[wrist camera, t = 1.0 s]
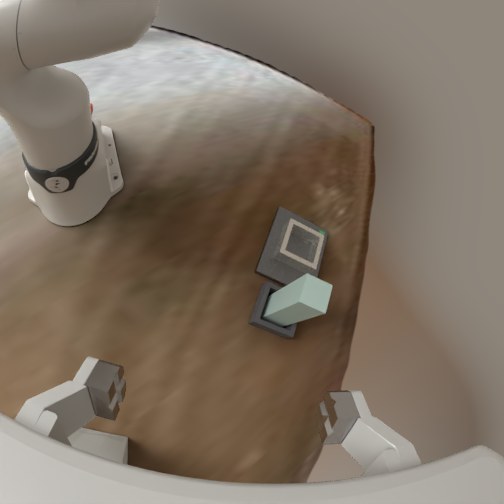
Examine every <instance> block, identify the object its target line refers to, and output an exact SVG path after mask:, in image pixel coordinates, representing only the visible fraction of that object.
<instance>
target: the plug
mask: <svg viewBox="0 0 504 504" xmlns="http://www.w3.org/2000/svg"><path fill="white" fill-rule="evenodd" d="M332 286H333V285H331V284H329V283H327V282H324V281H322V280H320V279H318V278H316V277H314V276H312V275H310V274H308V273H307V274H305V275H303V276H302V277H300V278H298V279H297V280H295V281H293V282H292V283H290V284H288V285H287V286H285V287H283V288H281V289H280V290H278V291H276V292H275V293H273V294H271V295H269V296H268V297H267V300H266V303H265V306H264V309H263V312H262V314H261V317H260V318H261V319H263V320H265V321H268V322H270V323H273V324H275V325H278V326H280V327H283V326H287V325H290V324H293V323H297V322H300V321H303V320H306V319H310V318H313V317H316V316H319V315H322V314H325V313H326V310H327V306H328V302H329V298H330V294H331V290H332Z"/></svg>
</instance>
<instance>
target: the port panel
mask: <svg viewBox="0 0 504 504" xmlns="http://www.w3.org/2000/svg"><path fill="white" fill-rule="evenodd" d="M327 235H328V231H326V230H324V229H323V228H321V227H319V226H317V225H315V224H313V223H311V222H309V221H307V220H306V219H304V218H302V217H300V216H298V215H296V214H294V213H292V212H290V211H288V210H286V209H284V208H282V207H280V206H279V208H278V209H277V212H276V214H275V217H274V220H273V223H272V226H271V228H270V231H269V234H268V237H267V239H266V242H265V245H264V248H263V250H262V253H261V256H260V259H259V261H258V264H257V267H256V270H255V273H257V274H259V275H261V276H263V277H266V278H268V279H270V280H272V281H274V282H277V283H279V284H281V285H283V286H287V285H288V284H290V283H292V282H293V281H295V280H297V279H298V278H300V277H302V276H303V275H305V274H307V273H308V274H310V275H312V276H314V277H316V278H317V276H318V272H319V268H320V264H321V260H322V256H323V252H324V248H325V244H326V240H327Z"/></svg>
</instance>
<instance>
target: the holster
mask: <svg viewBox="0 0 504 504" xmlns="http://www.w3.org/2000/svg"><path fill="white" fill-rule="evenodd" d="M281 288H282V287H280V286H278V285H275V284H273V283H271V282H269V281H267V282H265V283H264V284H263V285H262V287H261V290H260V293H259V296H258V298H257V301H256V304H255V307H254V310H253V313H252V315H251V318H250V321H249V324H251V325H254V326H256V327H259V328H261V329H264V330H266V331H269V332H271V333H274V334H276V335H279V336H281V337H284V338H286V339H287V338H292V337H294V333H295V330H296V327H297V323H298V322H297V323H293V324H290V325H287V326H286V328H285V329H284V328H282V327H279V326H277V325H274V324H272V323H269V322H267V321H264V320H262V319H260V317H261V314H262V311H263V308H264V305H265V302H266V299H267V296H268V293H271V294H273V293H275V292H276V291H278V290H280V289H281Z"/></svg>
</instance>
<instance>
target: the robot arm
mask: <svg viewBox="0 0 504 504" xmlns="http://www.w3.org/2000/svg"><path fill="white" fill-rule="evenodd" d="M158 6H159V0H0V115H1V116H2V117H3V118H4V120H5V121H6V122H7V123H8V125H9V126H10V128H11V130H12V132H13V133H14V135H15V137H16V139H17V141H18V143H19V145H20V148H21V150H22V157H23V160H24V165H25V167H26V171H25V177H26V180H27V182H28V185H29V188H30V189H29V193H28V197H29V200H30V201H31V202H32V203H34V204H35V205H37V206H38V207H39V208H40V209H41V211H42V213H43V214H44V216H45V217H46V218H47V219H48V220H49V221H51V222H53V223H55V224H57V225H61V226H74V225H79V224H82V223H84V222H86V221H88V220H90V219H92V218H93V217H94V216H96V215H97V214H98V213H99V212H100V211H101V210H102V209H103V207H104V206H105V205H106V203H107V202H108V200H109V199H110V198H111V197H112V196H113V195H115V194H116V193H117V192H119V191H120V190H121V189H122V188H123V186H124V183H123V179H122V174H121V170H120V166H119V161H118V157H117V152H116V148H115V143H114V138H113V133H112V130H111V128H109V127H106V126H102V125H101V121H100V120H98V119H96V118H93V117H92V116H91V115H92V112H93V106H92V103H91V104H90V97H89V91H88V89H87V87H86V85H85V83H84V82H83V81H82V79H81V78H80V77H79V76H77V75H76V74H74V73H72V72H70V71H68V70H65V69H61V68H58V67H56V66H54V65H55V64H60V63H66V62H72V61H78V60H85V59H91V58H94V57H98V56H102V55H105V54H109V53H112V52H116V51H119V50H123V49H127V48H131V47H133V46H134V45H135V44H136V43H137V42H138V41H139V40H140V39H141V38H142V37H143V36H144V35H145V34H146V32H147V31H148V30H149V28H150V27H151V25H152V23H153V21H154V19H155V17H156V14H157V10H158ZM114 178H118V179H116V180H114ZM123 375H124V368H123V366H121V365H117V364H114V363H110V362H107V361H103V360H99V359H96V358H93V357H90V356H89V357H88V358H86V360H85V361H84V363H83V365H82V366H81V368H80V370H79V371H78V373H77V374H76V376H75V378H74V379H73V381H67V382H65V383H63V384H61V385H59V386H57V387H54V388H52V389H50V390H48V391H46V392H44V393H41V394H39V395H37V396H35V397H33V398H30V399H28V400H27V401H26V402H25V404H24V405H23V407H22V408H21V410H20V412H19V413H18V415H17V416H16V418H15V420H13V419H12V418H10V417H8V416H6V415H4V414H3V413H1V412H0V504H504V458H503V457H502V456H501V455H499V454H498V453H496V452H494V451H493V450H491V449H489V448H488V447H485V446H483V445H477V446H474V447H472V448H469V449H466V450H463V451H461V452H458V453H455V454H452V455H449V456H447V457H444V458H440V459H437V460H434V461H431V462H428V463H424V464H421V462H420V459H419V457H418V455H417V453H416V451H415V448H414V446H413V444H411V443H410V442H409V441H408V440H406V439H405V438H403V437H402V436H400V435H399V434H398V433H396V432H395V431H394V430H392V429H391V428H390V427H388V426H387V425H385V424H384V423H383V422H381V421H380V420H379V419H377V418H376V417H372V415H371V413H370V411H369V408H368V406H367V403H366V401H365V399H364V396H363V394H362V392H361V391H360V390H351V391H326V392H325V393H324V395H323V400H324V401H323V402H322V403H320V404H319V406H318V408H317V413H316V420H317V424H318V425H319V426H320V427H321V428H322V429H321V431H320V432H319V433H320V437H321V441H322V444H341V445H342V446H343V448H344V449H345V450H346V451H347V452H348V453H349V454H350V455H351V456H352V457H353V458H354V459H355V460H356V461H357V462H358V463H359V464H360V465H361V466H362V467H363V468H364V469H365V472H364V473H363V474H362V475H361V477H358V478H351V479H344V480H336V481H325V482H313V483H291V484H258V483H237V482H224V481H213V480H205V479H197V478H190V477H183V476H177V475H172V474H166V473H161V472H156V471H152V470H147V469H143V468H139V467H135V466H131V465H127V464H123V463H120V462H116V461H113V460H110V459H106V458H103V457H100V456H97V455H94V454H91V453H88V452H85V451H83V450H80V449H77V448H74V447H72V445H71V443H70V442H69V440H68V438H67V437H69V436H70V435H72V434H73V433H74V432H76V431H77V430H79V429H80V428H81V427H83V426H84V425H86V424H87V423H88V422H90V421H91V420H92V419H94V418H95V417H96V416H98V417H102V418H105V419H109V420H113V421H115V420H116V417H117V415H118V412H119V410H120V409H119V403H121V402H123V399H124V397H125V392H126V381H125V379H124V378H123Z"/></svg>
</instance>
